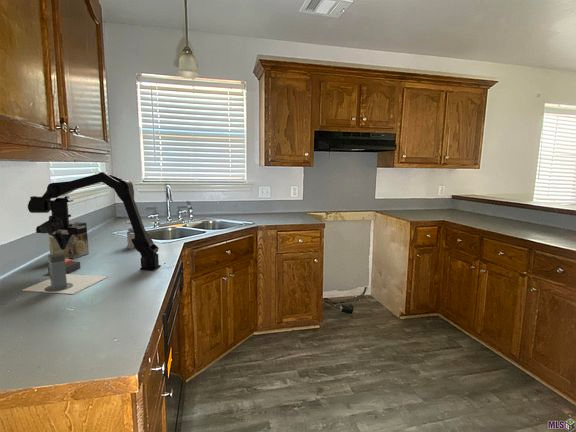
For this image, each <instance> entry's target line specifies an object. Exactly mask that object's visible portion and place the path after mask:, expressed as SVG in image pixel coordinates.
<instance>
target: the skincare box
mask: <svg viewBox="0 0 576 432" xmlns="http://www.w3.org/2000/svg"><path fill="white" fill-rule="evenodd" d="M48 240H49V241H48V242H49V255H53V254H59V253H62V254H63V255H64V256H65V259H70V258H68V244H67V246H66V248H65V249H64V250H61V248H60V246H59V244H58V242H57V241H56V239H55V238H54V237H53V236H51V235H48Z"/></svg>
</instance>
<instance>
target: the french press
mask: <svg viewBox="0 0 576 432" xmlns="http://www.w3.org/2000/svg"><path fill="white" fill-rule="evenodd" d="M126 224H127V225H131V222H130V220H127V221H126ZM143 226H144V224H143ZM144 227H145V226H144ZM126 237H127V238H126V240H127V245H126V246H125V248H127V249H134V244H133V242H132V240H131V239H133V238H134V237H135V234H134V231H133V228H132V227H131V228H127V231H126Z"/></svg>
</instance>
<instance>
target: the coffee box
mask: <svg viewBox="0 0 576 432" xmlns="http://www.w3.org/2000/svg"><path fill="white" fill-rule="evenodd" d="M69 224H72V226H71V227H73V226H85V227H86V231H87V232H85V233H82V234H78V235H72V236H71V238H70V239H69V241H68V258H69V259H76V258H79V257H82V256H86V255H88V254H90V251H89V250H90V249H89V239H88V237H89V236H88V230H87V229H88V227H87V222H80V221H78V222H77V221H76V222H69ZM63 230H65V229H63Z"/></svg>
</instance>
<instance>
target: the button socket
mask: <svg viewBox="0 0 576 432" xmlns="http://www.w3.org/2000/svg"><path fill="white" fill-rule="evenodd" d="M72 261H73V263H72V264H69V265H66V266H65V268H66V274H70V273H72V272H75V271H77V270H80V269H81V262H80V261H74V260H72ZM47 271H48V274H50V269H49V265H47Z"/></svg>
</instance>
